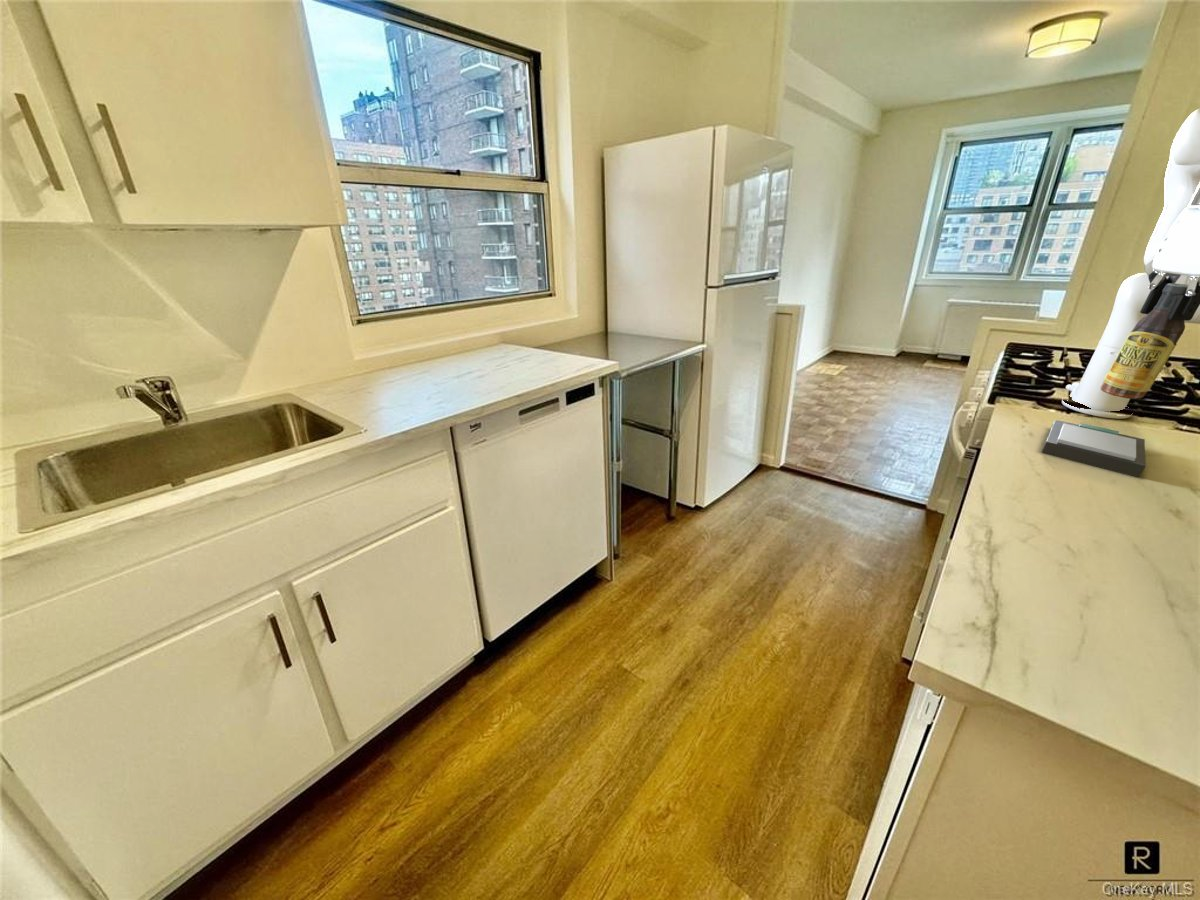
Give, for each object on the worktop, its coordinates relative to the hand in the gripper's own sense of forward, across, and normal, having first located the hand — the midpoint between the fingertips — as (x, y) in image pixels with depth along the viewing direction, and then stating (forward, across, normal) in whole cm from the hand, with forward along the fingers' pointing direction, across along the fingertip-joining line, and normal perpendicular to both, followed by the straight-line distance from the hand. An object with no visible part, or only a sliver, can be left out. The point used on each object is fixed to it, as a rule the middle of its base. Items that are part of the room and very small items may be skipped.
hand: (1164, 315), depth 84 cm
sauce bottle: (+15, 0, 0) cm, 15 cm away
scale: (+27, +2, -1) cm, 28 cm away
